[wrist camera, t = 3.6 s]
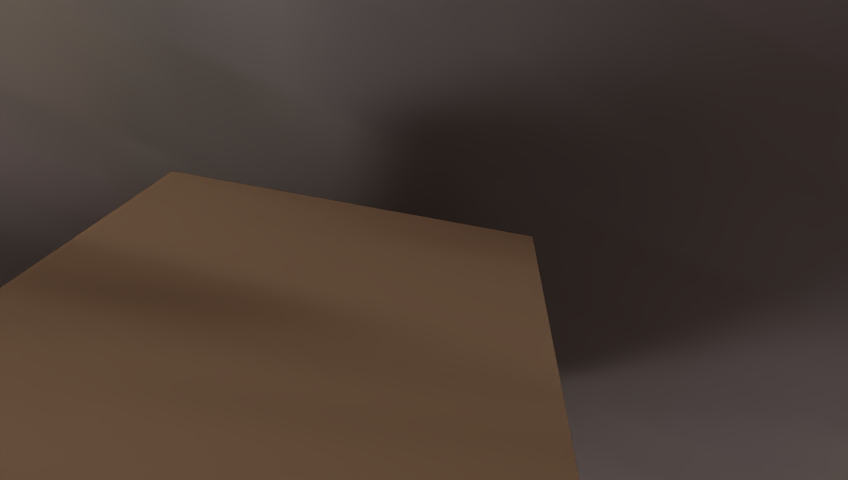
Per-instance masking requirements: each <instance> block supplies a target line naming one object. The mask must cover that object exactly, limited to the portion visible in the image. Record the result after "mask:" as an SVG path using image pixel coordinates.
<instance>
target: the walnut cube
mask: <svg viewBox="0 0 848 480" xmlns="http://www.w3.org/2000/svg"><path fill="white" fill-rule="evenodd" d="M0 480H579V475H578V470H577V465H576V459H575V454H574V449H573V444H572V439H571V434H570V428H569V423H568V418H567V413H566V408H565V403H564V397H563V392H562V387H561V382H560V377H559V371H558V366H557V361H556V356H555V351H554V346H553V340H552V335H551V330H550V325H549V320H548V315H547V309H546V304H545V299H544V294H543V289H542V283H541V278H540V273H539V268H538V263H537V258H536V252H535V247H534V242H533V237H532V236H527V235H521V234H516V233H510V232H505V231H499V230H494V229H488V228H483V227H477V226H472V225H466V224H461V223H455V222H450V221H444V220H439V219H433V218H428V217H422V216H417V215H411V214H406V213H400V212H395V211H389V210H384V209H378V208H373V207H367V206H362V205H356V204H351V203H345V202H340V201H334V200H329V199H323V198H318V197H312V196H307V195H301V194H296V193H290V192H285V191H279V190H274V189H268V188H263V187H257V186H252V185H246V184H241V183H235V182H230V181H224V180H219V179H213V178H208V177H202V176H197V175H191V174H186V173H180V172H175V171H171V172H170V173H169V174H167V175H166V176H164V177H163V178H161V179H160V180H158V181H157V182H155V183H154V184H152V185H151V186H149V187H148V188H146V189H145V190H143V191H142V192H141V193H139V194H138V195H136V196H135V197H133V198H132V199H130V200H129V201H127V202H126V203H124V204H123V205H121V206H120V207H118V208H117V209H116V210H114V211H113V212H111V213H110V214H108V215H107V216H105V217H104V218H102V219H101V220H99V221H98V222H96V223H95V224H93V225H92V226H90V227H89V228H88V229H86V230H85V231H83V232H82V233H80V234H79V235H77V236H76V237H74V238H73V239H71V240H70V241H68V242H67V243H65V244H64V245H62V246H61V247H60V248H58V249H57V250H55V251H54V252H52V253H51V254H49V255H48V256H46V257H45V258H43V259H42V260H40V261H39V262H37V263H36V264H35V265H33V266H32V267H30V268H29V269H27V270H26V271H24V272H23V273H21V274H20V275H18V276H17V277H15V278H14V279H12V280H11V281H9V282H8V283H7V284H5V285H4V286H2V287H1V288H0Z"/></svg>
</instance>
